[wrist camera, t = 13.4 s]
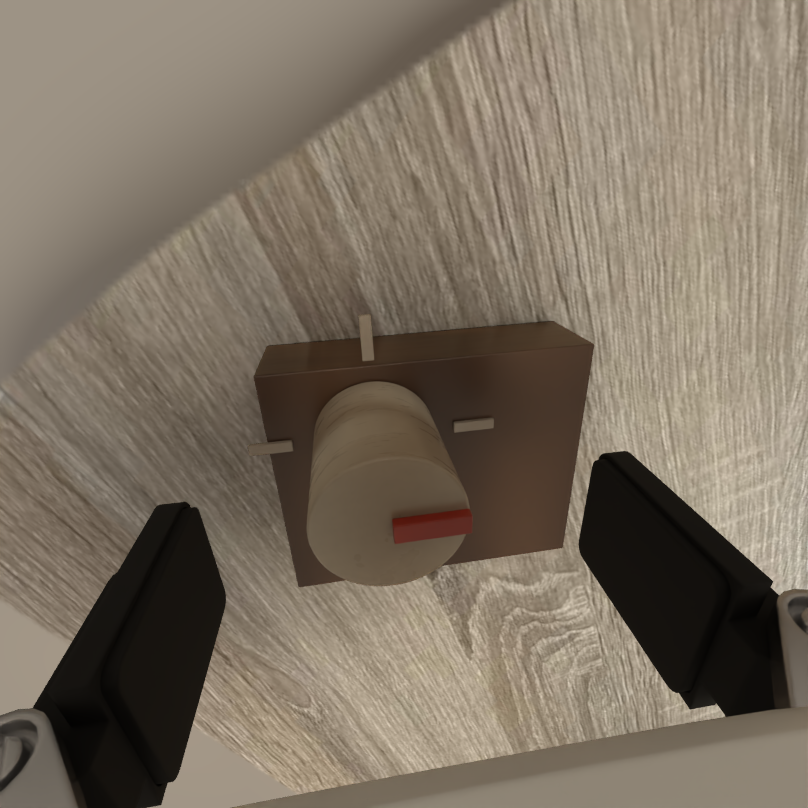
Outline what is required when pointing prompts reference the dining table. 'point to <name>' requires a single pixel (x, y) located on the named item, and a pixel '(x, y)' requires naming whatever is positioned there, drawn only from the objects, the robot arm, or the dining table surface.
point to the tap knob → (383, 488)
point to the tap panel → (445, 423)
